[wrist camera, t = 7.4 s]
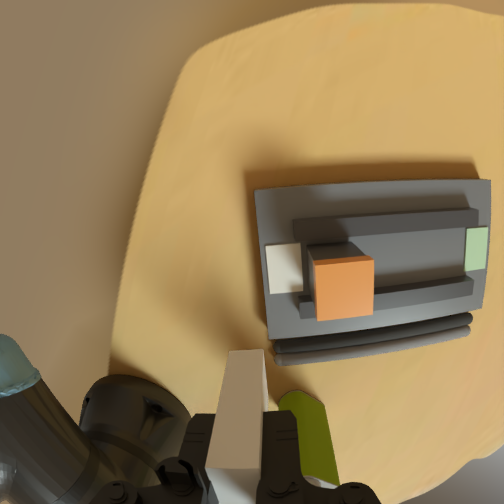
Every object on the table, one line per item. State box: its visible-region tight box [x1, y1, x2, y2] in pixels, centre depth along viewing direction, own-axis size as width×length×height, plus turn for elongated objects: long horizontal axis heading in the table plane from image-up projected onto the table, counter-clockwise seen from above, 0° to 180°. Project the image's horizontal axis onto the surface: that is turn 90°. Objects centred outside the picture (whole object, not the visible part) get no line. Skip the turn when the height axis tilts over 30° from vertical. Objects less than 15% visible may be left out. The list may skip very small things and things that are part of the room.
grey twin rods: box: [273, 313, 473, 366], centre depth 32 cm, size 23×3×1 cm, turn 96°
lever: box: [306, 241, 374, 321], centre depth 25 cm, size 4×4×6 cm
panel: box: [254, 179, 491, 339], centre depth 28 cm, size 24×14×4 cm, turn 96°
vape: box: [278, 390, 340, 489], centre depth 25 cm, size 4×6×20 cm, turn 52°
